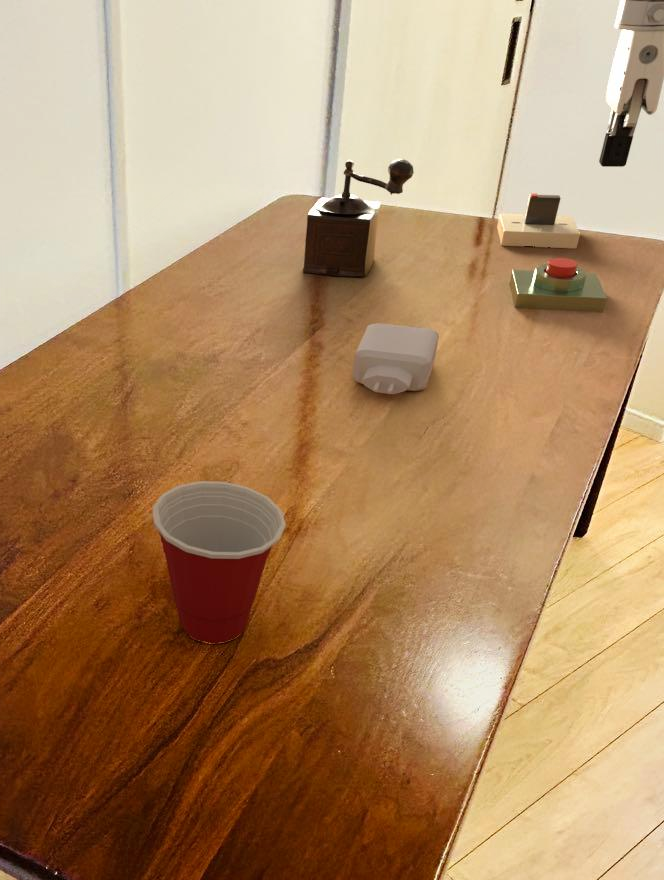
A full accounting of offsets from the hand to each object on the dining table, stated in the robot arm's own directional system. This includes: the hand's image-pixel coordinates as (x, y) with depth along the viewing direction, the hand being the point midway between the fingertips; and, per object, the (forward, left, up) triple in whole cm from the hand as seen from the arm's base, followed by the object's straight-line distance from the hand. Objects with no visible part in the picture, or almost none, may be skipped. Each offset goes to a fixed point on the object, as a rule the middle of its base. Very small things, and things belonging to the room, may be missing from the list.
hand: (611, 164), depth 126 cm
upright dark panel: (+4, -26, -16) cm, 30 cm away
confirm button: (+4, +2, -15) cm, 16 cm away
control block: (+4, +2, -19) cm, 19 cm away
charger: (+27, +35, -19) cm, 48 cm away
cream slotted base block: (+4, -26, -19) cm, 32 cm away
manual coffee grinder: (+34, -7, -19) cm, 39 cm away
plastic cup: (+41, +85, -19) cm, 96 cm away
